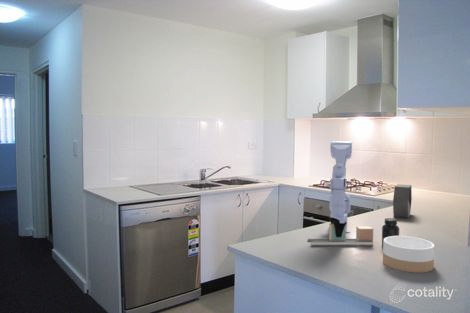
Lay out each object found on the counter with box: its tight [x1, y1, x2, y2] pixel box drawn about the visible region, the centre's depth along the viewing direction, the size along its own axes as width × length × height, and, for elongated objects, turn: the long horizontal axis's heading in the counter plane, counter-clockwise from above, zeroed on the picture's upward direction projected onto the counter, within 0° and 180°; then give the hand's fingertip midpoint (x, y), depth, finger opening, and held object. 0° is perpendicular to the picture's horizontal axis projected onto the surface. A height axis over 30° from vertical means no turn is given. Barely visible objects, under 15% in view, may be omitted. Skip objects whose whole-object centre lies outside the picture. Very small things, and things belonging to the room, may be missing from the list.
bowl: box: [382, 235, 436, 273], centre depth 140 cm, size 17×17×8 cm
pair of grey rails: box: [307, 238, 374, 247], centre depth 165 cm, size 8×26×2 cm, turn 91°
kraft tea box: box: [328, 223, 346, 241], centre depth 165 cm, size 4×6×7 cm
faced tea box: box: [355, 225, 374, 242], centre depth 165 cm, size 4×6×7 cm
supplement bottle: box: [381, 217, 400, 248], centre depth 159 cm, size 7×7×12 cm
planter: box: [392, 183, 413, 219], centre depth 218 cm, size 17×8×21 cm
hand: (337, 235), depth 165 cm, fingers closed on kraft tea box, 4 cm apart
